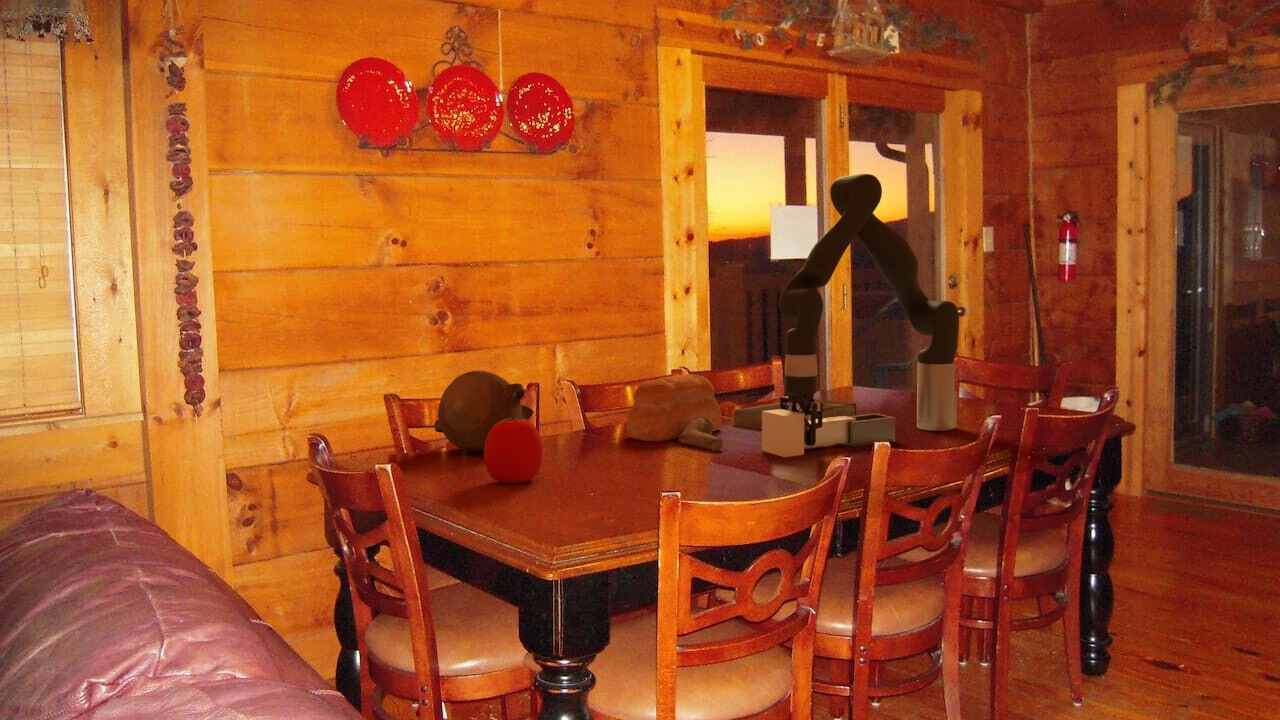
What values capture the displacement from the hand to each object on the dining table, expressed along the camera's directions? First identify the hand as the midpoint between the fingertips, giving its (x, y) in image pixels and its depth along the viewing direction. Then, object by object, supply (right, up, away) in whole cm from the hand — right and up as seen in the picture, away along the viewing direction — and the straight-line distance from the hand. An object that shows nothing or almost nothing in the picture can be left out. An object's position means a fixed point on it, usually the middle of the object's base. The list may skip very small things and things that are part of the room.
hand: (801, 443), depth 252 cm
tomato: (-64, -6, -27) cm, 70 cm away
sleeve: (+16, 0, +9) cm, 19 cm away
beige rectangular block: (+4, -1, +2) cm, 5 cm away
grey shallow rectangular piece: (+4, +2, +40) cm, 40 cm away
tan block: (-4, -2, -2) cm, 5 cm away
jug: (-74, -2, +11) cm, 75 cm away
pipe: (-22, -2, +9) cm, 24 cm away
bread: (-29, 0, +25) cm, 38 cm away
